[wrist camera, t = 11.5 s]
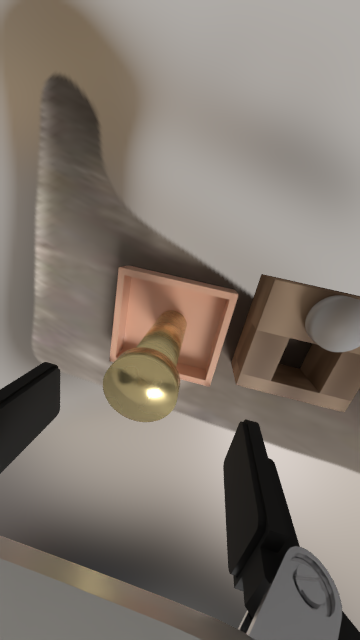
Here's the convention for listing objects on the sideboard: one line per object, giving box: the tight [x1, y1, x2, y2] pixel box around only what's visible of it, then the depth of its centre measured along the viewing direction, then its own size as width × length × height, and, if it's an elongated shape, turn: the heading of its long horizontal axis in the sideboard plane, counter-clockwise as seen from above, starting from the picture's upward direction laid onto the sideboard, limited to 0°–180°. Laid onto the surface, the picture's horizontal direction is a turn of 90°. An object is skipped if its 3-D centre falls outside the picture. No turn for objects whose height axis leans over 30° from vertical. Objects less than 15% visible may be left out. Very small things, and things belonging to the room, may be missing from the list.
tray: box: [110, 266, 238, 387], centre depth 21 cm, size 11×10×2 cm
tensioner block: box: [231, 274, 360, 412], centre depth 18 cm, size 10×10×6 cm
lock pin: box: [103, 310, 187, 422], centre depth 16 cm, size 4×4×11 cm
